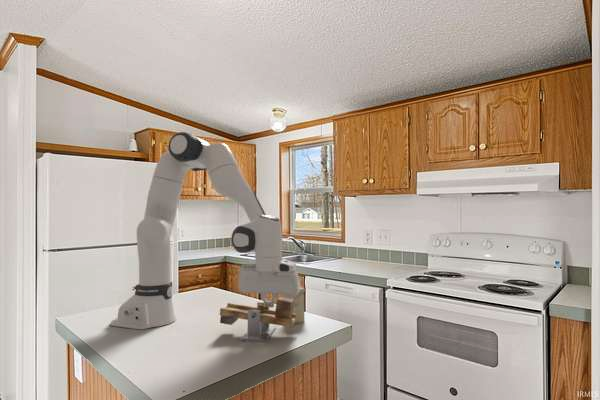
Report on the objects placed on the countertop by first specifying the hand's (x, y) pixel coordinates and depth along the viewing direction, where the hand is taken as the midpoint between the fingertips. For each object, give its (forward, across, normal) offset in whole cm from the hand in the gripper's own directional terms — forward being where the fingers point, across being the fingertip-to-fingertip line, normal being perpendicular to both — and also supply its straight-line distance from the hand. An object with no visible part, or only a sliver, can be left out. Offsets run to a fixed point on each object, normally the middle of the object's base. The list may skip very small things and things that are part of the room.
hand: (269, 306), depth 121 cm
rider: (+4, +5, 0) cm, 6 cm away
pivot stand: (+9, -3, 0) cm, 10 cm away
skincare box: (+9, +6, +15) cm, 19 cm away
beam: (+6, -4, 0) cm, 8 cm away
